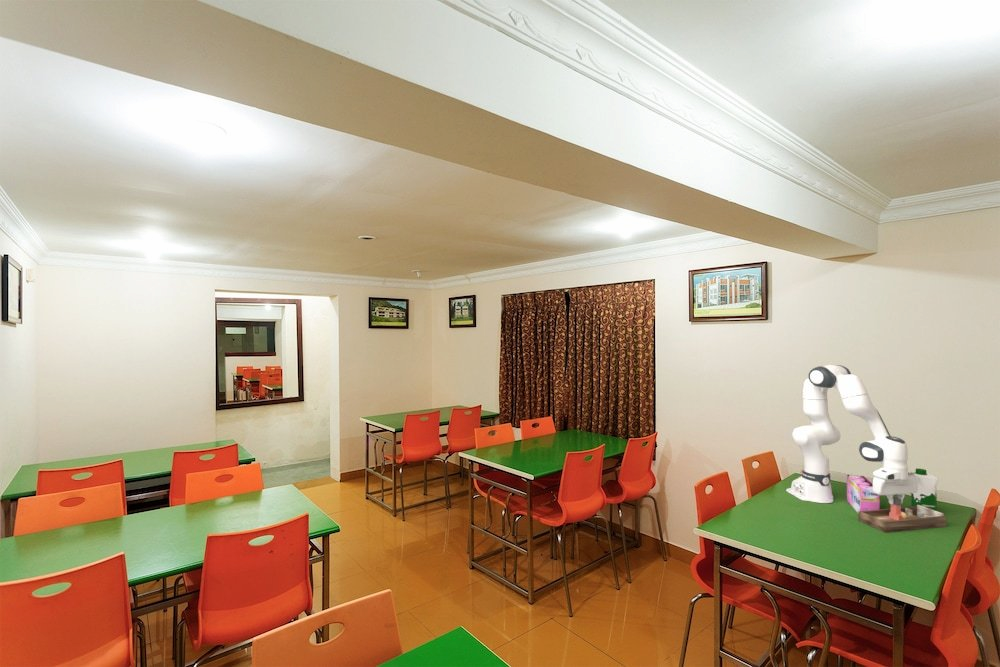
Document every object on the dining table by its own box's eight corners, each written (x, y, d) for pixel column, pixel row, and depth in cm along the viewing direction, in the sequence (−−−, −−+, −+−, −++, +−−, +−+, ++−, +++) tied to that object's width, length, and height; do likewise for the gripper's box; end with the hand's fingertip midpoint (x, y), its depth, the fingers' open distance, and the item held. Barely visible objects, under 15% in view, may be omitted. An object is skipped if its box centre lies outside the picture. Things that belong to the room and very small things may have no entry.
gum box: (845, 499, 249) (845, 473, 249) (863, 501, 246) (863, 475, 246) (860, 516, 227) (860, 487, 227) (880, 518, 224) (880, 489, 224)
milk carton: (928, 509, 234) (928, 468, 234) (941, 516, 225) (940, 474, 225) (908, 508, 236) (907, 467, 236) (919, 514, 227) (918, 473, 227)
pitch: (858, 521, 221) (858, 509, 221) (916, 515, 226) (916, 504, 226) (885, 532, 208) (885, 520, 208) (946, 526, 213) (946, 514, 213)
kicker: (888, 517, 219) (888, 496, 219) (893, 517, 219) (893, 496, 219) (898, 521, 214) (898, 499, 214) (902, 521, 215) (902, 499, 215)
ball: (893, 511, 218) (900, 509, 219) (895, 518, 219) (901, 516, 219) (901, 514, 215) (907, 512, 216) (903, 521, 215) (909, 519, 216)
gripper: (908, 469, 221) (908, 499, 221) (869, 472, 218) (869, 502, 218) (922, 473, 215) (922, 504, 215) (882, 476, 212) (882, 507, 212)
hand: (895, 503), depth 217 cm, fingers closed on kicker, 2 cm apart
